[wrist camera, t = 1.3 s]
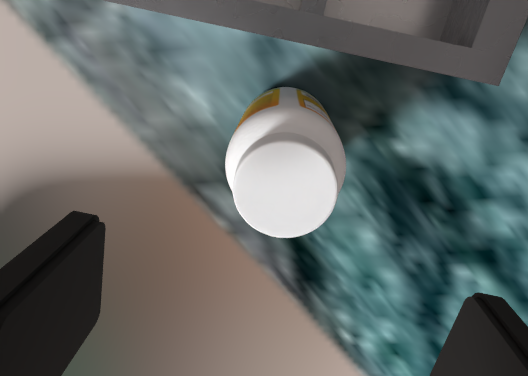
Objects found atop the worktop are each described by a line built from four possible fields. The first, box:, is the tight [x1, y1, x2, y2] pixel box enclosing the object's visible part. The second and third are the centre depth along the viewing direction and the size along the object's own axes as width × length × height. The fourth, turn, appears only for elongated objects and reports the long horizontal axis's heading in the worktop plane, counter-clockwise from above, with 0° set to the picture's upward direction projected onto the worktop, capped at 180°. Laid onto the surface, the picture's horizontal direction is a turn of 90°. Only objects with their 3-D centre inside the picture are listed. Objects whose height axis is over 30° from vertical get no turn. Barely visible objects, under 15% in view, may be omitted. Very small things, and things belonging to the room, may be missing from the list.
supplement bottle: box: [225, 87, 346, 238], centre depth 19 cm, size 5×5×10 cm
